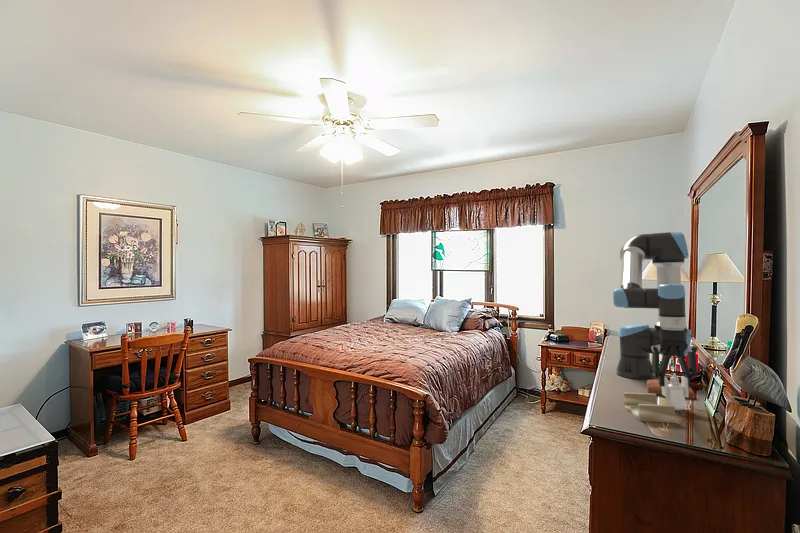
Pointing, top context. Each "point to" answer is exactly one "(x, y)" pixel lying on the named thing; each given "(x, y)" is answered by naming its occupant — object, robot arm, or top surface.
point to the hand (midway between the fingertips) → (675, 395)
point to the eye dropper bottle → (675, 394)
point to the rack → (648, 407)
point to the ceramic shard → (657, 389)
